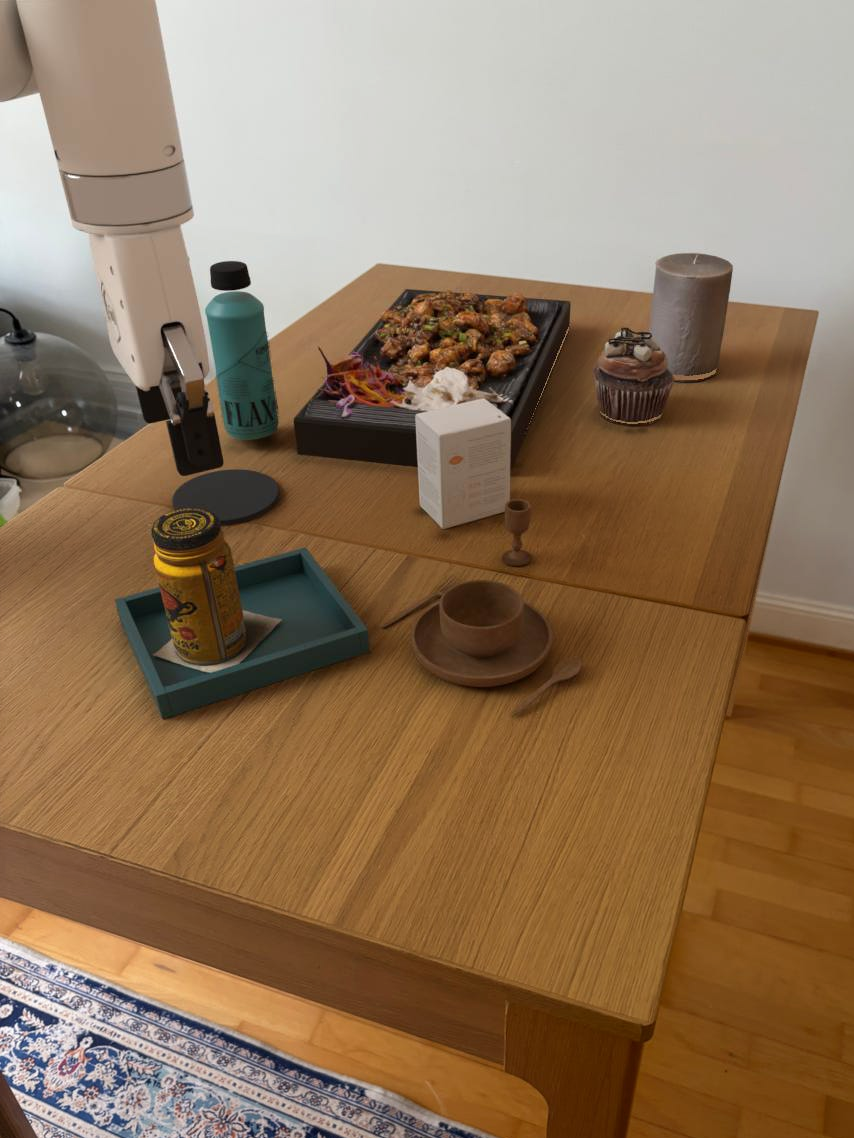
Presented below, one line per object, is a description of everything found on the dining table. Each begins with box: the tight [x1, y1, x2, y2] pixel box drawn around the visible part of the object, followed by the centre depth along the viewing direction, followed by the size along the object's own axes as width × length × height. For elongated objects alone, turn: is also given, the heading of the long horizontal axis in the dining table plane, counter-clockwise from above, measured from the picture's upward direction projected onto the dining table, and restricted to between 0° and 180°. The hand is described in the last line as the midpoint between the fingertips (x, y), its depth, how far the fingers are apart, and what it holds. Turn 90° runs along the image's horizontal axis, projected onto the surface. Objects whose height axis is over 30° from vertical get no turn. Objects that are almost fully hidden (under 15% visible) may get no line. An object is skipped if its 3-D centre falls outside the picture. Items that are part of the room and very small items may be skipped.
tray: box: [114, 547, 371, 720], centre depth 84 cm, size 18×15×2 cm
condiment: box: [150, 508, 282, 673], centre depth 80 cm, size 7×8×12 cm
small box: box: [415, 398, 511, 530], centre depth 98 cm, size 8×6×10 cm
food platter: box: [293, 288, 572, 473], centre depth 124 cm, size 45×25×10 cm, turn 167°
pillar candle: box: [648, 252, 734, 383], centre depth 127 cm, size 10×10×15 cm
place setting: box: [380, 498, 583, 717], centre depth 84 cm, size 18×20×6 cm
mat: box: [171, 468, 280, 526], centre depth 103 cm, size 11×11×1 cm
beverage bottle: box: [204, 260, 281, 441], centre depth 108 cm, size 6×7×20 cm
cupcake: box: [593, 326, 675, 427], centre depth 117 cm, size 10×10×10 cm
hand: (182, 443), depth 72 cm, fingers open, 9 cm apart
